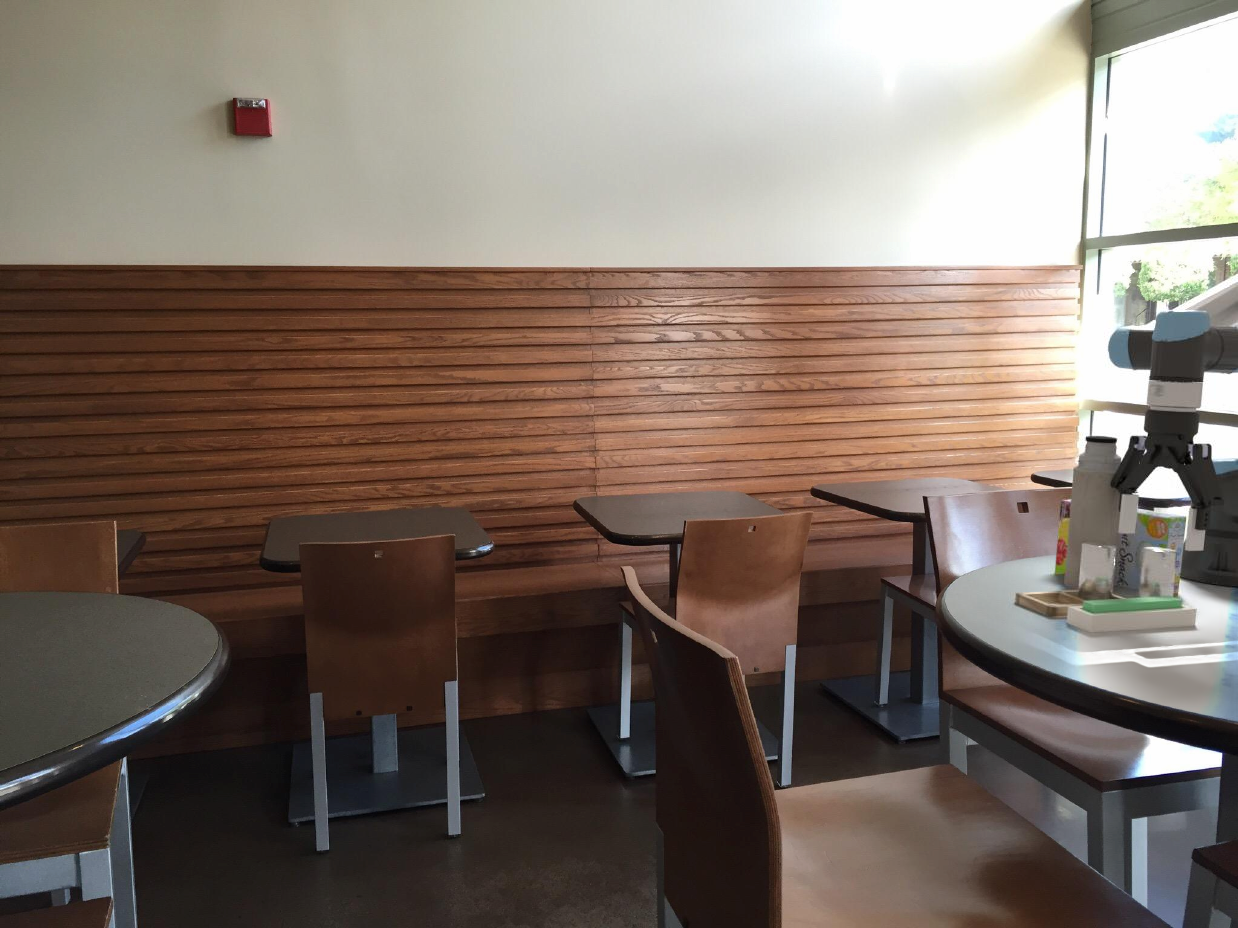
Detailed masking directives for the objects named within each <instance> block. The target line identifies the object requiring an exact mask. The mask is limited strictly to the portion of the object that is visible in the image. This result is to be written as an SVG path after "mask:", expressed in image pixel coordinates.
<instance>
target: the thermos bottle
mask: <svg viewBox="0 0 1238 928" xmlns="http://www.w3.org/2000/svg"><path fill="white" fill-rule="evenodd" d="M1084 441H1086V443H1085V447H1084V448H1085V449H1084V451H1083V452H1081V453H1080V454H1079V455H1078V460H1077V462H1078V465H1077V466H1073V473H1072V481H1071V483H1072V484H1071V495H1070V499H1071V507H1070V519H1069V531H1068V548H1067V556H1066V567H1065V574H1064V580H1063V581H1064V583H1063V584H1064V586H1065V587H1067V588H1071V589H1072V590H1078V588H1079V576H1080V565H1081V553H1082V543H1084V542H1099V543H1107V544H1111V545H1115V546H1116V547H1117V550H1116V561H1115V572H1114V583H1113V592H1114V591H1115V575H1116V564H1117V553H1118V535H1119V533H1118V531H1119V521H1120V512H1119V498H1120V493H1119V492H1118V490H1117V489H1116V488H1112V487H1111V485H1110V483H1111V481H1112V479H1113V477H1114V475H1115V473H1116V471H1117V469H1118V467H1119V465H1120V463H1121V461H1122V456H1120V455H1118V454H1117V449H1118V448H1117V442H1118V438H1116V437H1114V436H1106V435H1105V436H1104V435H1087V436H1085V440H1084ZM1121 480H1122V479H1121ZM1121 480H1120V481H1121Z"/></svg>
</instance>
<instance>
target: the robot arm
mask: <svg viewBox="0 0 1238 928" xmlns="http://www.w3.org/2000/svg"><path fill="white" fill-rule="evenodd" d="M1236 323H1238V268H1237V269H1236V270H1235V271H1234V273H1233V275H1232V276H1231V277H1229V278H1228V279H1225V280H1224V281H1222V282H1220V283H1218V284H1216V285H1214V286H1213V287H1211V288H1209V289H1207V290H1206V291H1203V292H1202V293H1200V294H1198V295H1197V296H1195V297H1193V298H1191V299H1189V300H1188V301H1185V302H1184V303H1181V304H1180V305H1178V306H1177V307H1175V308H1173V309H1169V310H1162V311H1160V312H1158V314H1157V315H1156V317H1155V319H1153V320H1151V321H1148V322H1147V323H1145V324H1143V325H1134V324H1133V325H1128V326H1121V327H1118V328H1116V329H1115V330H1114V332H1113V333H1112V334H1111V335H1110V337H1109V340H1108V345H1107V351H1108V352H1107V353H1108V357H1109V360H1110V362H1111V363H1112V365H1113V366H1115V367H1117V368H1119V369H1125V370H1126V369H1127V370H1132V371H1138V370H1139V371H1149V377H1148V388H1147V395H1146V405H1147V406H1149V407H1150V408H1149V409H1147V410H1146V411H1145V414H1144V423H1143V430H1144V432H1145V433H1147V435H1131V436H1130V437H1129V442H1128V448H1127V450H1126V452H1125V454H1124V456H1123V457H1122V458H1121V463H1120V465H1119V467H1118V469H1117V471H1116V473H1115V475H1114V477H1113V479H1112V481H1111V483H1110V485H1111V487H1112V488H1116V489H1117V490H1118V492H1119V493H1120V498H1119V512H1120V521H1119V531H1118V533H1135V529H1136V519H1137V509H1139V497H1140V495H1139V494H1138V493H1139V492H1138V489H1139V488H1140V487H1141V486H1142V484H1144V482H1145V481H1146V480H1147V479H1148V478H1149V477H1150V475H1152V473H1153V472H1154V471H1155V470H1156V468H1158V467H1159V468H1164V469H1170V470H1172V471H1173V472H1174V473H1176V474H1177V475H1178V478H1179V480H1180V481H1181V483H1182V486H1183V487H1184V490H1185V491H1186V493H1187V495H1188V497H1189V498H1190V507H1188V508H1189V509H1188V517H1187V518H1188V519H1187V526H1186V528H1187V529H1186V537H1185V538H1184V545H1183V554H1182V563H1181V573H1180V578H1181V577H1182V578H1185V579H1188V580H1192V581H1194V582H1200V583H1205V584H1212V585H1218V586H1227V587H1238V458H1212V457H1213V454H1212V450H1213V448H1212V447H1213V446H1212V445H1211V443H1194V437H1195V436H1196V435H1197V434H1199V433H1198V432H1199V427H1200V418H1201V416H1200V415H1201V414H1200V413H1199V411H1197V409H1200V408H1201V407H1202V398H1203V386H1204V379H1205V373H1209V374H1210V373H1211V374H1214V373H1215V374H1224V375H1225V374H1226V375H1231V374H1236V373H1238V326H1237V325H1234V324H1236ZM1121 479H1122V480H1121ZM1120 480H1121V481H1120Z"/></svg>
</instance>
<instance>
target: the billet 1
mask: <svg viewBox="0 0 1238 928" xmlns="http://www.w3.org/2000/svg"><path fill="white" fill-rule="evenodd" d="M1116 550H1117V547H1116V546H1115V545H1111V544H1107V543H1099V542H1084V543H1082V553H1081V565H1080V576H1079V588H1078V598H1081V599H1084V600H1086V601H1091V600H1108V599H1112V594H1114V593H1113V592H1114V591H1113V583H1114V572H1115V561H1116Z"/></svg>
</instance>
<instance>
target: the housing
mask: <svg viewBox="0 0 1238 928" xmlns="http://www.w3.org/2000/svg"><path fill="white" fill-rule="evenodd" d="M1082 609H1083V606H1069V607H1068V613H1067V618H1066V623H1067V624H1069V625H1071V626H1073V627H1076V628H1078V629H1080V630H1083V631H1086V632H1089V633H1101V632H1102V633H1103V632H1105V633H1106V632H1119V631H1130V630H1131V631H1133V630H1146V629H1147V630H1148V629H1149V630H1150V629H1161V628H1174V627H1175V628H1177V627H1191V626H1196V621H1197V620H1196V619H1197V608H1194V607H1192V606H1189V605H1186V604H1183V603H1182V608H1172V609H1156V610H1140V611H1124V612H1108V613H1090V612H1088V611H1085V610H1082Z"/></svg>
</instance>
